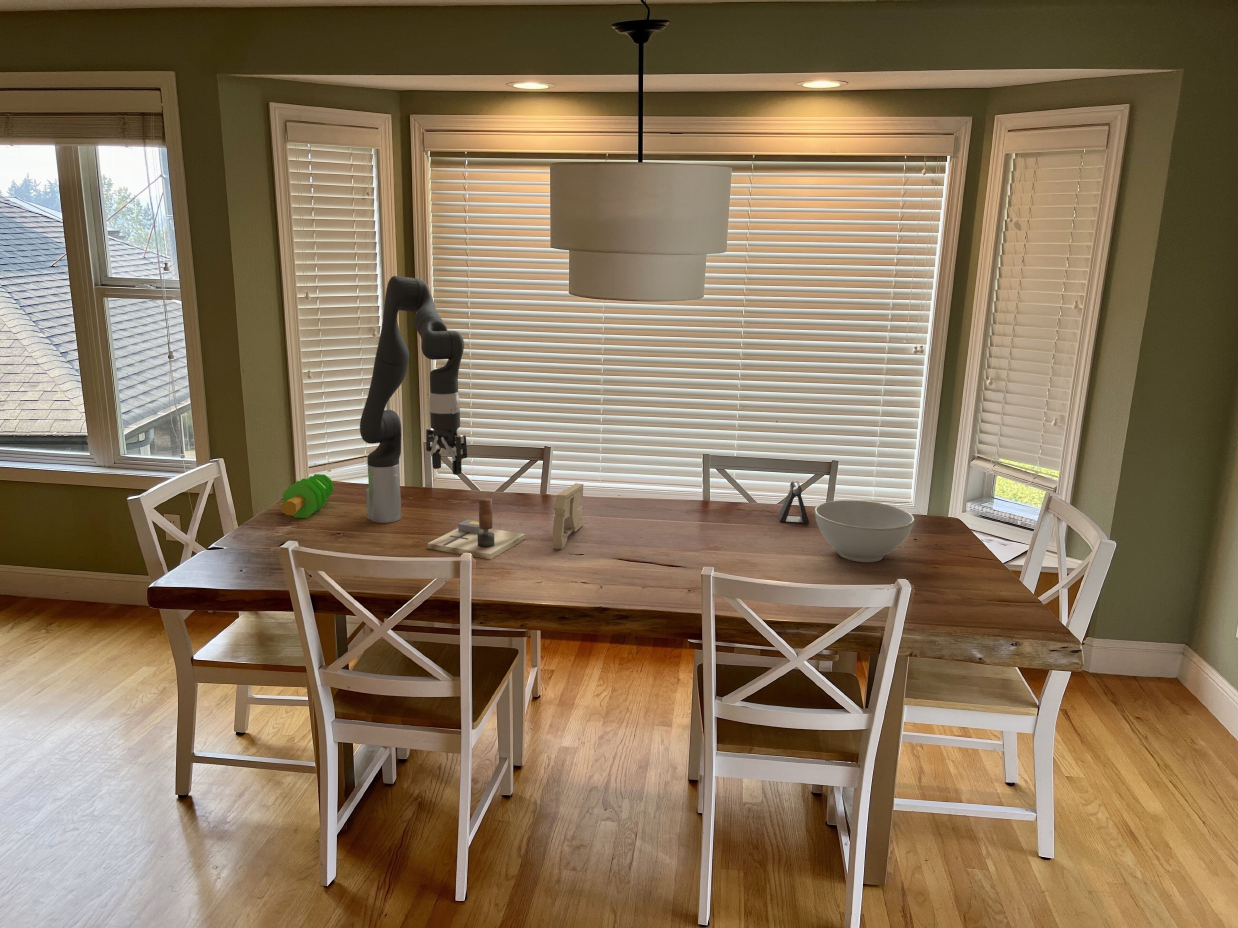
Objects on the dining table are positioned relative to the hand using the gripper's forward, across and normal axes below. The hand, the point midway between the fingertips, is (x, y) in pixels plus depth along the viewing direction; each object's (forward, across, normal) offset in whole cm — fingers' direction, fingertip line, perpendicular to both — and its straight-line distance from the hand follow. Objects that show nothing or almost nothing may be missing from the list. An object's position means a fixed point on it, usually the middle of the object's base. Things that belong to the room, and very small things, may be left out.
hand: (447, 471), depth 233 cm
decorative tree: (+24, -67, -2) cm, 71 cm away
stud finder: (+23, -13, +18) cm, 32 cm away
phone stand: (+26, +44, +100) cm, 112 cm away
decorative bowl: (+26, +74, +85) cm, 116 cm away
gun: (+25, +7, +37) cm, 45 cm away
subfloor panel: (+24, -6, +14) cm, 29 cm away
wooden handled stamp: (+23, 0, +12) cm, 26 cm away
